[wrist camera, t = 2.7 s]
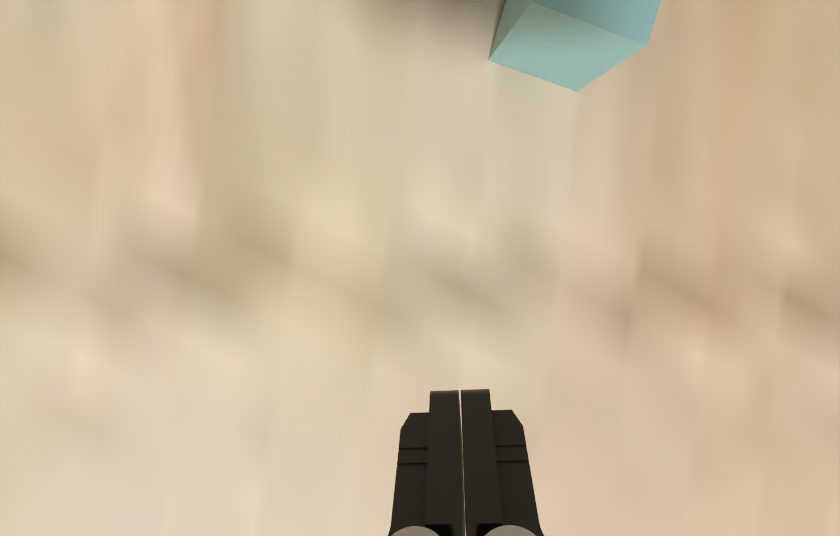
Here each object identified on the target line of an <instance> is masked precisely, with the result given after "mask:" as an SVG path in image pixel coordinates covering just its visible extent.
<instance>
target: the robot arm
mask: <svg viewBox="0 0 840 536" xmlns="http://www.w3.org/2000/svg"><path fill="white" fill-rule="evenodd" d="M461 410H462V432H461V417H460V403H459V391H458V390H453V391H431V392H430V407H429V413H410V415H409V416H408V418H407V420H406V421H405V423H404V425H403V426H402V428H401V431H400V441H399V452H398V461H397V471H396V481H395V490H394V500H393V510H392V520H391V527H390V531H389V534H388V536H465V526H466V536H544V535H543V533H542V530H541V528H540V524H539V519H538V513H537V507H536V501H535V495H534V489H533V483H532V477H531V471H530V465H529V459H528V453H527V449H526V441H525V435H524V429H523V425H522V424H521V423H520V421H519V420H518V418H517V417H516V415H515V414H514V412H513V411H512V410H491V401H490V392H489V389H478V390H461ZM462 440H463V450H462ZM463 470H464V480H463ZM464 500H465V510H464Z"/></svg>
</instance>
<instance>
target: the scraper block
mask: <svg viewBox="0 0 840 536" xmlns="http://www.w3.org/2000/svg"><path fill="white" fill-rule="evenodd" d="M659 3H660V0H506V2H505V5H504V8H503V12H502V15H501V19H500V22H499V25H498V29H497V32H496V35H495V39H494V42H493V46H492V49H491V52H490V56H489V59H488V60H489V61H492V62H495V63H498V64H500V65H503V66H506V67H509V68H512V69H515V70H517V71H520V72H523V73H526V74H529V75H531V76H534V77H537V78H540V79H543V80H545V81H548V82H551V83H554V84H557V85H559V86H562V87H565V88H568V89H571V90H573V91H578V90H579V89H581V88H582V87H584V86H585V85H587V84H588V83H590V82H591V81H593V80H594V79H596V78H598V77H599V76H601V75H602V74H604V73H605V72H607V71H608V70H610V69H611V68H613V67H614V66H616V65H617V64H619V63H621V62H622V61H624V60H625V59H627V58H628V57H630V56H631V55H633V54H634V53H636V52H637V51H639V50H641V49H642V48H644V47H645V46H647V43H648V39H649V36H650V33H651V30H652V26H653V23H654V20H655V16H656V13H657V10H658V7H659Z"/></svg>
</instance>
